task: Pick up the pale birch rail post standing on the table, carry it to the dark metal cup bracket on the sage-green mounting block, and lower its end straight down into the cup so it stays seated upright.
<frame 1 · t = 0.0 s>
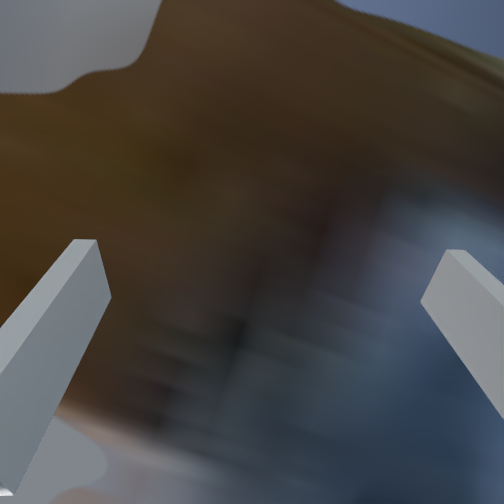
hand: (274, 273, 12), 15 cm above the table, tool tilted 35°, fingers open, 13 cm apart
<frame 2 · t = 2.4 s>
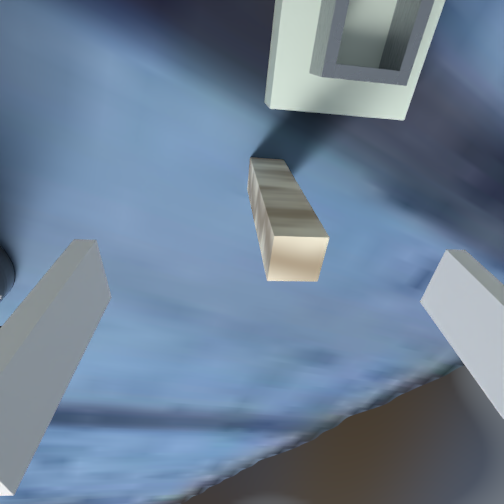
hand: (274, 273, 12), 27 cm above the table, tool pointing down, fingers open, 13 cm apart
mounting block: (343, 29, 30), on the table
rail post: (264, 174, 37), on the table
cup bracket: (368, 26, 25), on the mounting block, point 6 cm above the table
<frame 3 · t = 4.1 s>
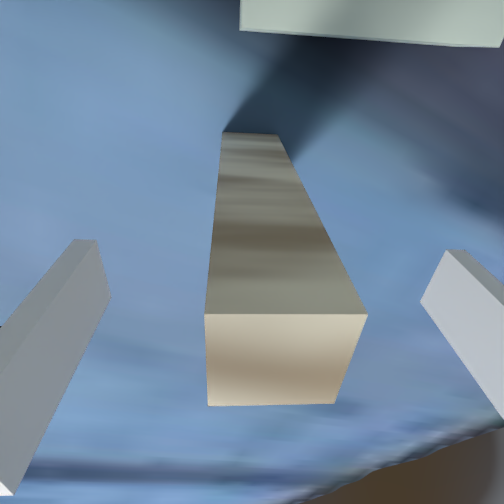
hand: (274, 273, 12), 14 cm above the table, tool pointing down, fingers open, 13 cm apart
rail post: (248, 160, 23), on the table
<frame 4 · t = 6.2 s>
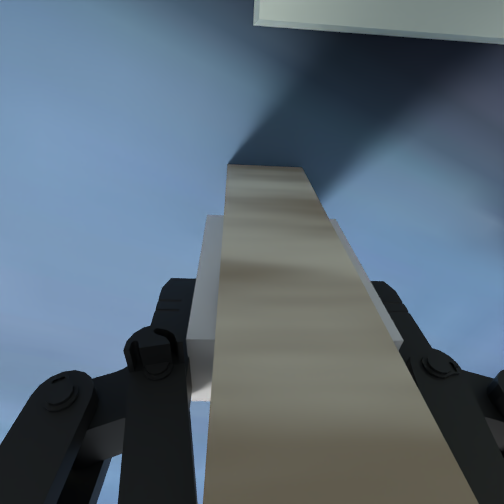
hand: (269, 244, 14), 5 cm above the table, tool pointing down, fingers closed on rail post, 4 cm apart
rail post: (262, 200, 18), on the table, touching gripper
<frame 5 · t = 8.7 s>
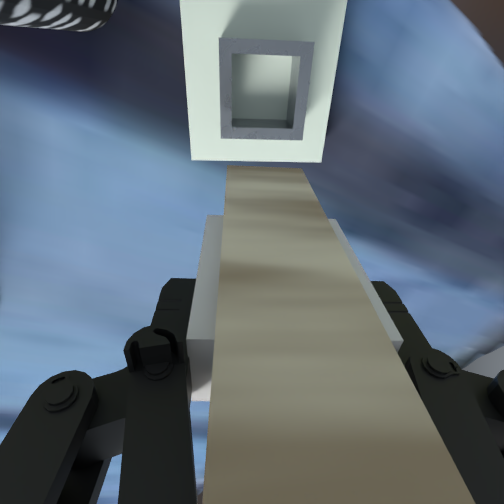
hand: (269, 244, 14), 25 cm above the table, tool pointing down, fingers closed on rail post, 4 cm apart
mounting block: (257, 83, 32), on the table
rail post: (261, 201, 18), point 21 cm above the table, touching gripper
cup bracket: (262, 90, 28), on the mounting block, point 6 cm above the table
when the fingers open (10 cm above the table, at t = 11.4 s): rail post drops 1 cm, resting on mounting block.
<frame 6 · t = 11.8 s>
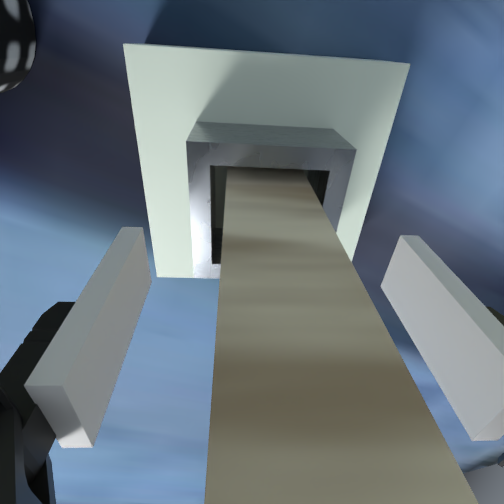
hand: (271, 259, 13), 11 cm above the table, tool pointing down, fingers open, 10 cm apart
mounting block: (256, 167, 22), on the table
rail post: (260, 190, 19), point 4 cm above the table, touching mounting block
cup bracket: (262, 204, 17), on the mounting block, point 6 cm above the table
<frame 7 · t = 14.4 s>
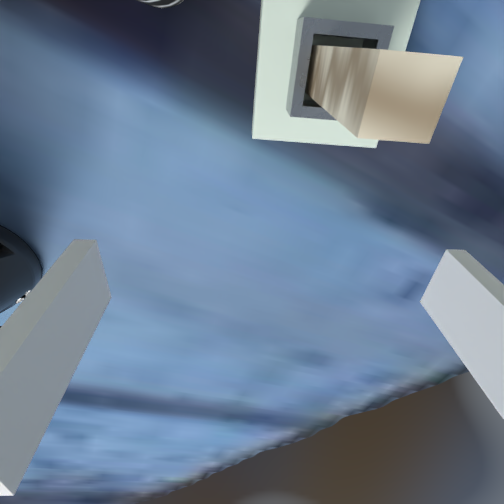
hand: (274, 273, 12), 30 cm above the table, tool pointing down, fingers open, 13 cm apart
mounting block: (320, 67, 34), on the table
rail post: (328, 71, 30), point 4 cm above the table, touching mounting block
cup bracket: (333, 72, 29), on the mounting block, point 6 cm above the table
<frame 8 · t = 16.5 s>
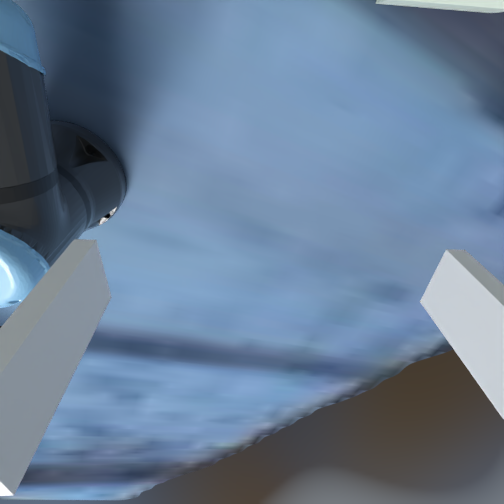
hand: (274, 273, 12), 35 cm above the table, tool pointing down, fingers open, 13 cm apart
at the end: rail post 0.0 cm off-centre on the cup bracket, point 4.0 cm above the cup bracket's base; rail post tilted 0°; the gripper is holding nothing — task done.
